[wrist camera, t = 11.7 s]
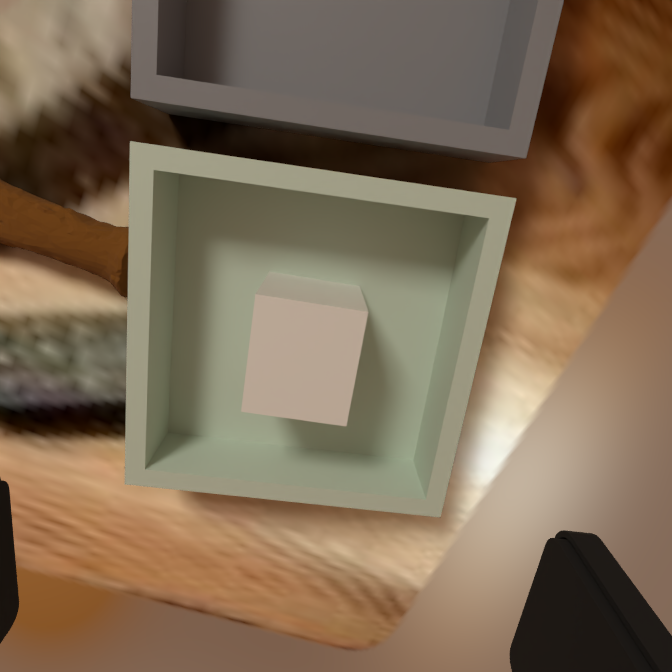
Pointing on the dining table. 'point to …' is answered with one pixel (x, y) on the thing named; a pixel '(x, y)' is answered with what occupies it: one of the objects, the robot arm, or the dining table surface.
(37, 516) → the dining table surface
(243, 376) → the sage crate
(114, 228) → the primitive tool
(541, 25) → the charcoal bin
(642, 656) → the robot arm
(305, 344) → the beige block
